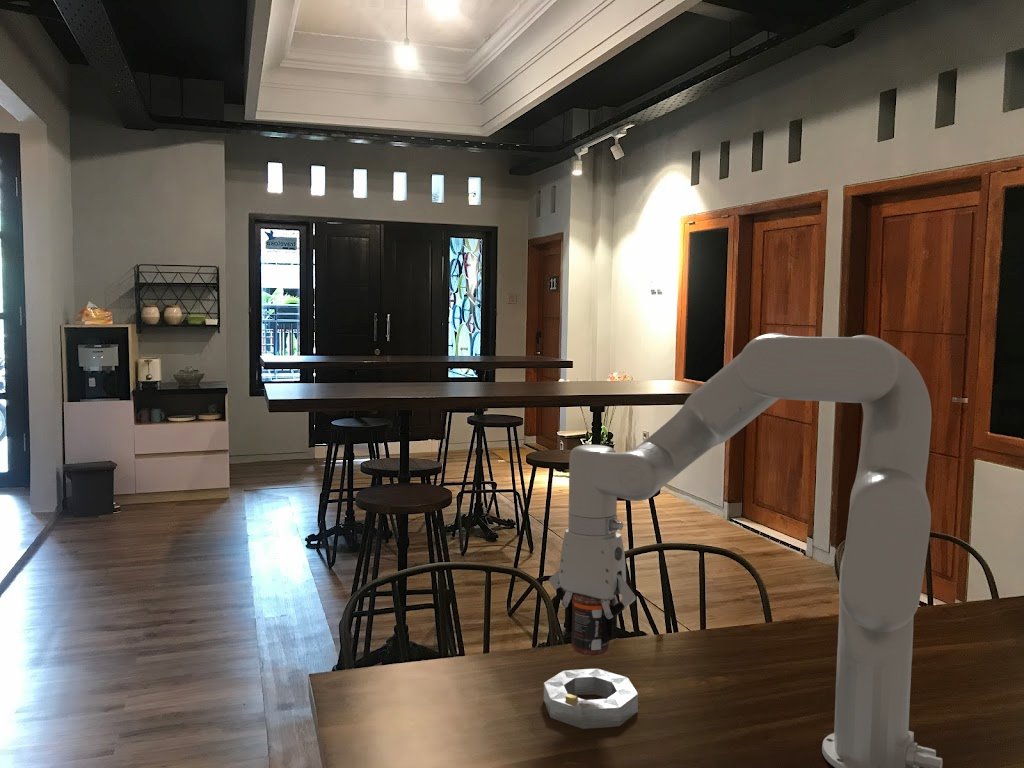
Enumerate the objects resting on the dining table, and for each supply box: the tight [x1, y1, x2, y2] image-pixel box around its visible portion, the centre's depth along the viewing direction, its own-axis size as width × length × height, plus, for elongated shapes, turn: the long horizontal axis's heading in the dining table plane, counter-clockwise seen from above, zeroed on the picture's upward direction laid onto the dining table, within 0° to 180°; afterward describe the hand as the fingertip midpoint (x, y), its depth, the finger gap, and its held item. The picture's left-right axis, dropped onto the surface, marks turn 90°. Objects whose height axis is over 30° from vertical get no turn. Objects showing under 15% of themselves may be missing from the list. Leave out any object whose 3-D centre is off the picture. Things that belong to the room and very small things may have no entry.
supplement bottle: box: [571, 593, 610, 657], centre depth 132 cm, size 6×6×11 cm
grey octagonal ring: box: [543, 668, 639, 730], centre depth 133 cm, size 14×14×4 cm
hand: (590, 633), depth 132 cm, fingers closed on supplement bottle, 6 cm apart
